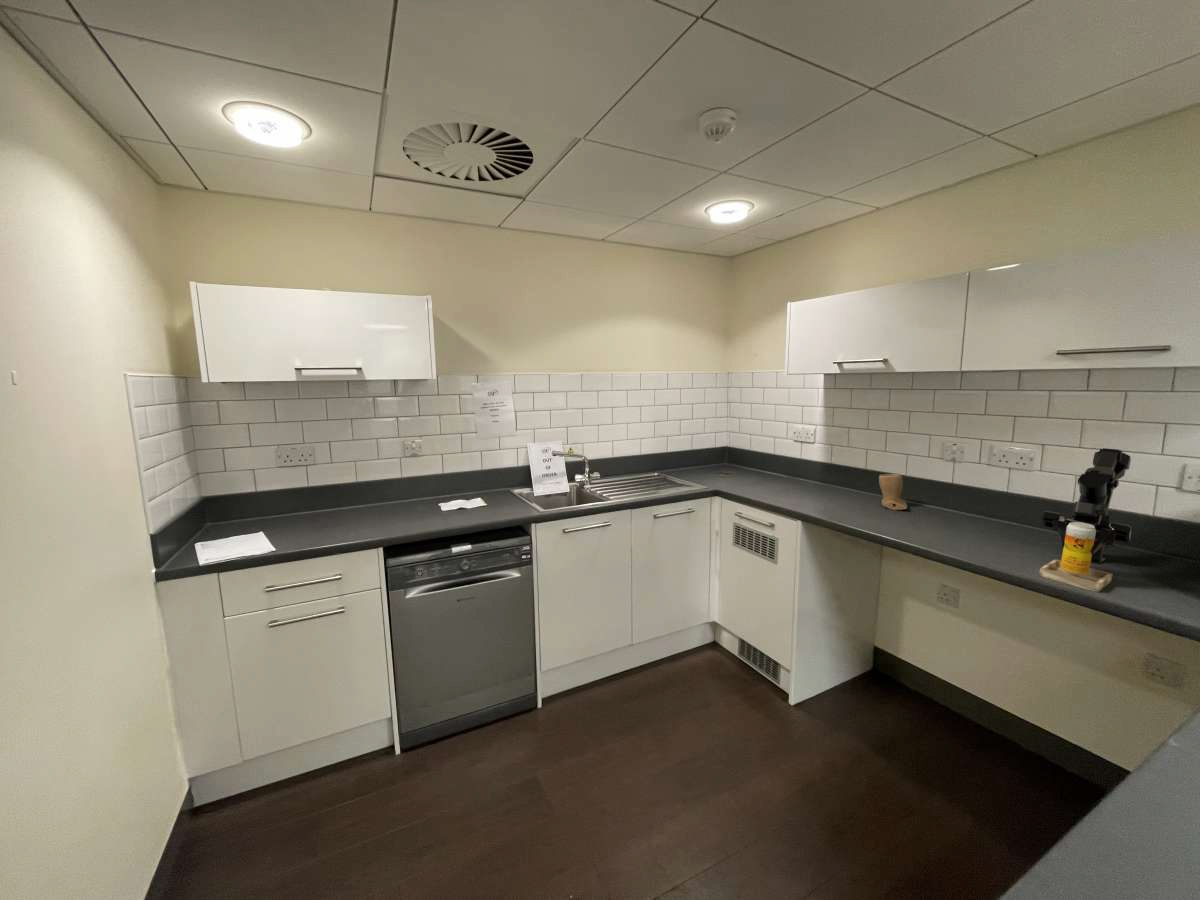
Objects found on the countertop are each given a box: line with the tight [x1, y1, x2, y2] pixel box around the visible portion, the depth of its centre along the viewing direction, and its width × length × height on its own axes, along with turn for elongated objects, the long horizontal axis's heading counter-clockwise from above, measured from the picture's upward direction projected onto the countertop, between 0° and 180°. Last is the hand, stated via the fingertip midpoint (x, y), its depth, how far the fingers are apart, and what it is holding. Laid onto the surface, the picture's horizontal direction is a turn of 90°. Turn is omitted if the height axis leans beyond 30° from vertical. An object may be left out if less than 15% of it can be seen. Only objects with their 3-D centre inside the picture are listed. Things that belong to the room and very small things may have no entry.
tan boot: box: [878, 473, 908, 511], centre depth 220 cm, size 15×12×15 cm
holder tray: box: [1038, 559, 1114, 593], centre depth 145 cm, size 13×13×2 cm
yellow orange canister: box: [1060, 522, 1096, 576], centre depth 142 cm, size 6×6×15 cm
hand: (1077, 549), depth 142 cm, fingers closed on yellow orange canister, 6 cm apart
